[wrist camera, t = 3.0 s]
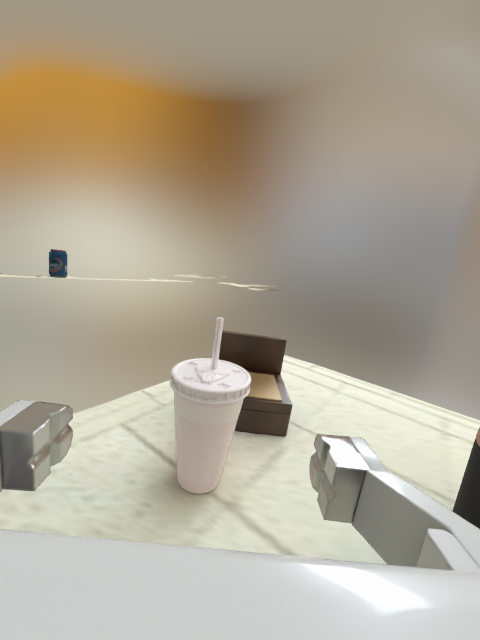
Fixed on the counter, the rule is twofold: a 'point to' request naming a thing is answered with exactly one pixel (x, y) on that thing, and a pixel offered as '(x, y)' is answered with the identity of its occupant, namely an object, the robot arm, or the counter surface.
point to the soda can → (58, 263)
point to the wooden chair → (259, 381)
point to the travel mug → (470, 488)
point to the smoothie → (206, 415)
